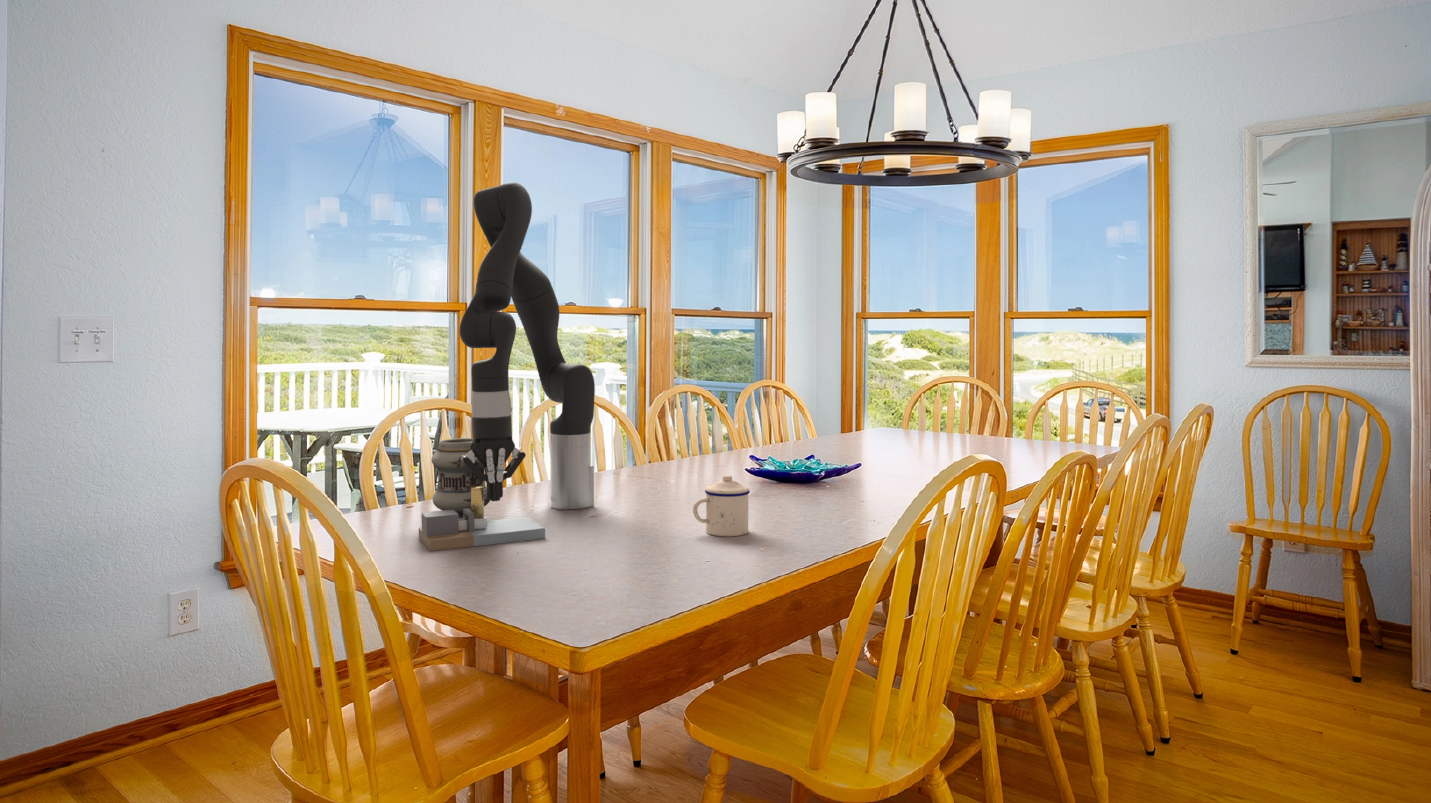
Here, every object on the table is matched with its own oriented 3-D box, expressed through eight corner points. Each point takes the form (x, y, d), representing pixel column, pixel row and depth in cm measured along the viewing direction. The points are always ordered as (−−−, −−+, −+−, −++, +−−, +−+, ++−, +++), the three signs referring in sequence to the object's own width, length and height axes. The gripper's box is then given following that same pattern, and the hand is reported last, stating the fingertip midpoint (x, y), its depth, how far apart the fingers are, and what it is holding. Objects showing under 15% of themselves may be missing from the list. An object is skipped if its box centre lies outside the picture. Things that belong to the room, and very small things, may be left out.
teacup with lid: (737, 525, 188) (738, 470, 187) (757, 534, 180) (757, 477, 179) (684, 530, 184) (684, 474, 183) (702, 540, 175) (702, 481, 174)
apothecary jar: (450, 516, 197) (448, 435, 195) (501, 519, 194) (500, 437, 193) (421, 528, 185) (419, 442, 183) (475, 531, 182) (474, 444, 181)
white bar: (484, 525, 178) (483, 485, 178) (487, 528, 176) (486, 487, 175) (432, 530, 174) (431, 490, 173) (434, 533, 171) (433, 492, 171)
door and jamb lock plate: (527, 526, 187) (527, 499, 187) (545, 538, 177) (544, 509, 176) (418, 537, 177) (418, 509, 177) (430, 550, 167) (429, 520, 166)
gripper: (519, 410, 182) (522, 493, 184) (453, 414, 176) (457, 500, 178) (530, 413, 176) (533, 500, 177) (461, 417, 169) (465, 507, 171)
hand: (495, 500), depth 177 cm, fingers closed
